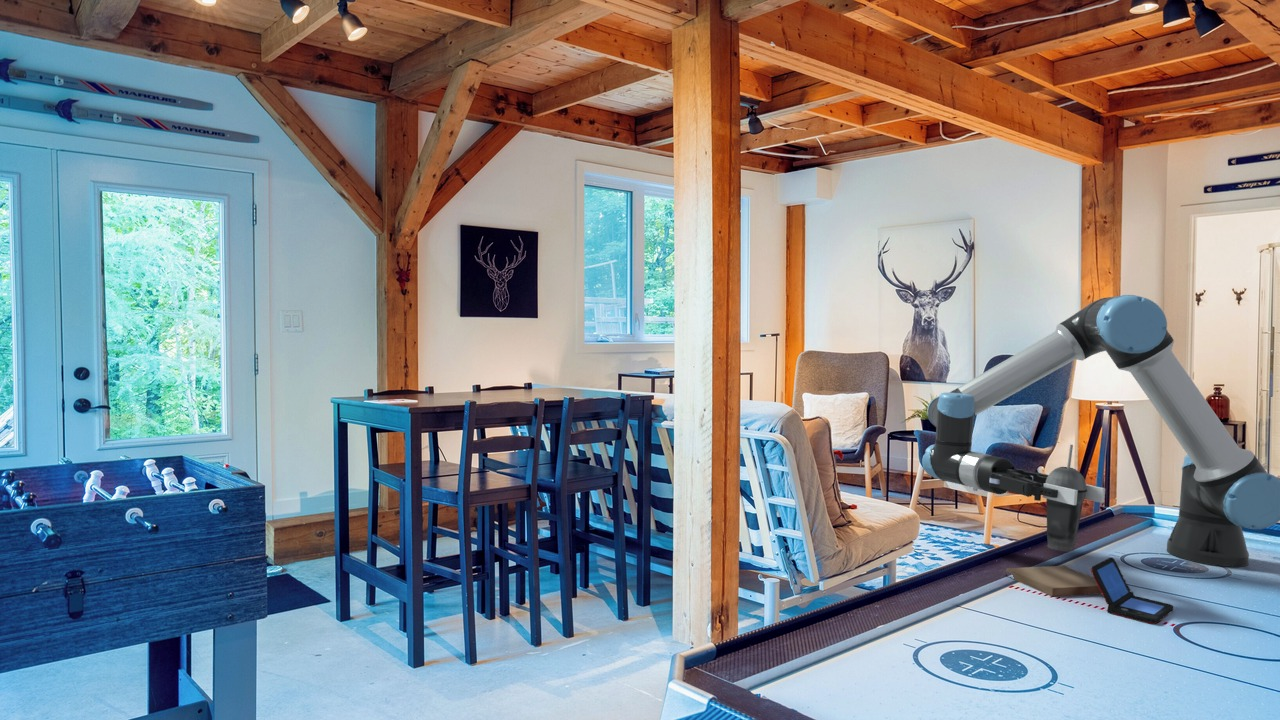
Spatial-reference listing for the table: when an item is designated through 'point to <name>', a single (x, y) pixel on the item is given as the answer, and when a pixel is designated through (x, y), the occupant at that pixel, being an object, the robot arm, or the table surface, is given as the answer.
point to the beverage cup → (1064, 508)
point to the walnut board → (1056, 580)
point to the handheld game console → (1126, 595)
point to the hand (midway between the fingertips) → (1089, 496)
